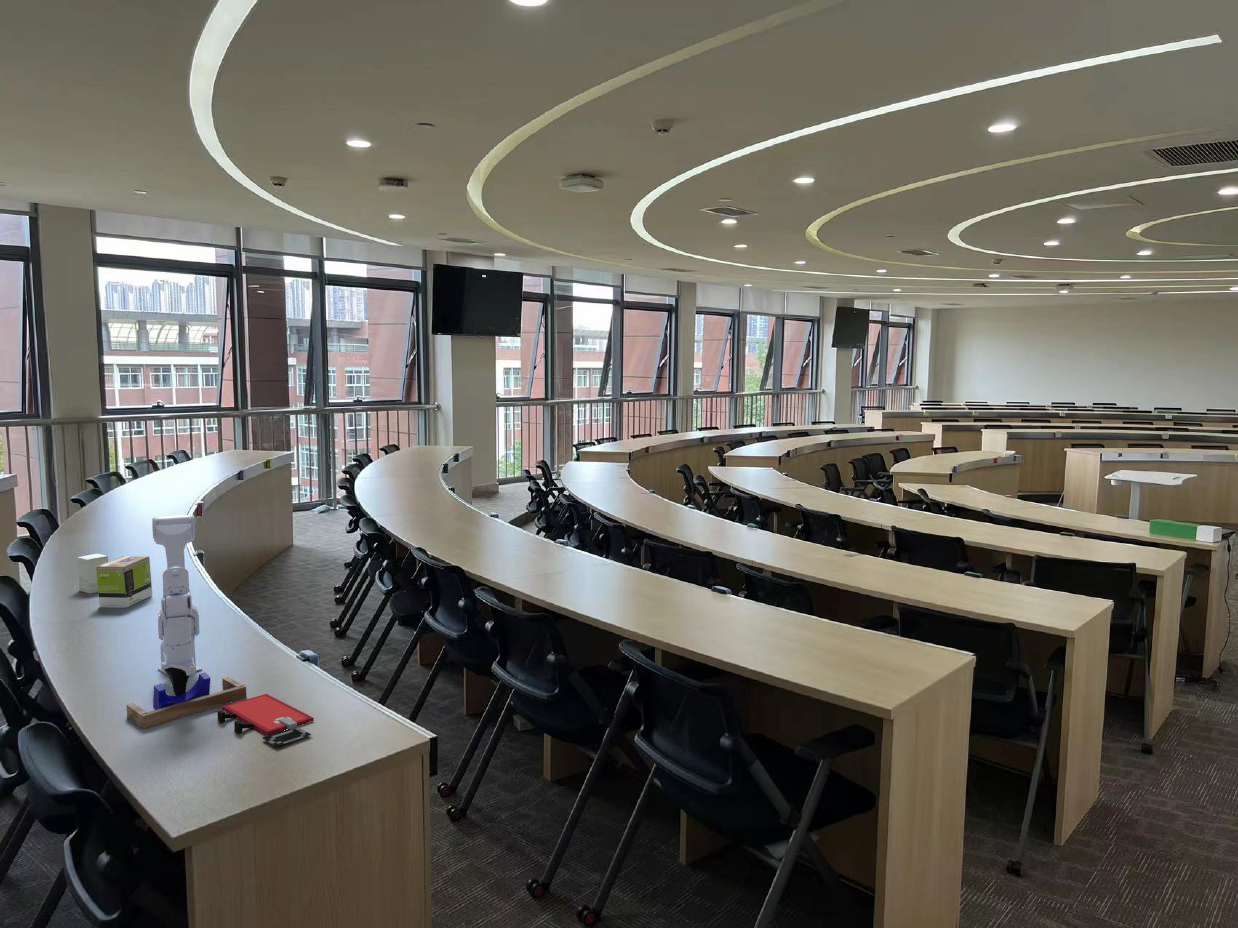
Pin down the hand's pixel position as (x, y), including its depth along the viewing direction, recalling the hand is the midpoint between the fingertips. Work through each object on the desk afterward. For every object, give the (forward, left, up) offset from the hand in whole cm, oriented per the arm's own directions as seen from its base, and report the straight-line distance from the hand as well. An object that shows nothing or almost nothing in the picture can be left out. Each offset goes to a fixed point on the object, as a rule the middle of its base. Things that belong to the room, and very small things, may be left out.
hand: (180, 695), depth 205 cm
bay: (+4, 0, -2) cm, 5 cm away
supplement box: (-127, +22, -2) cm, 129 cm away
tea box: (-103, +24, -2) cm, 106 cm away
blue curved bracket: (+2, 0, -2) cm, 3 cm away
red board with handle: (+26, +9, -3) cm, 28 cm away
